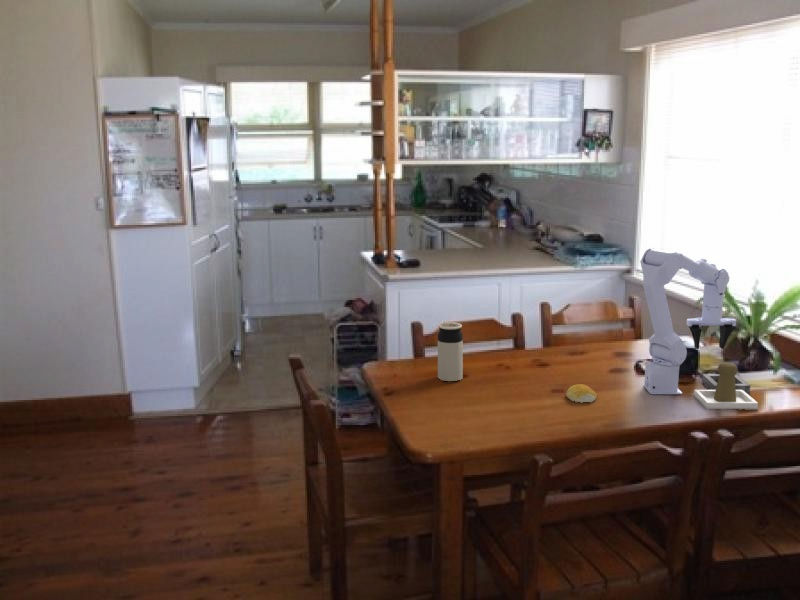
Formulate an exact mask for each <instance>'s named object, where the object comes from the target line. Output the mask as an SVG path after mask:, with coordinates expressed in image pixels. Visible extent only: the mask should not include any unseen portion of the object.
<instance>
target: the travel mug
mask: <svg viewBox="0 0 800 600" xmlns="http://www.w3.org/2000/svg"><path fill="white" fill-rule="evenodd" d="M462 327H463V324H462V323H459V322H456V321H455V322H454V321H445V322H441V323H439V324H438V328H439V332H438V334H437V379H438V378H439V379H441V380H445V381H457V380H460V381H462V380H463V377H464V376H463V372H464V371H463V370H464V369H463V368H464V365H463V361H464V358H463V357H464V355H463V351H464V350H463V349H464V344H463V343H464V342H463V341H464V334H463V332H462V330H461V329H462ZM439 379H438V380H439ZM461 379H462V380H461ZM441 380H440V381H441Z"/></svg>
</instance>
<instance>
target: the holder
mask: <svg viewBox="0 0 800 600" xmlns="http://www.w3.org/2000/svg"><path fill="white" fill-rule="evenodd" d="M701 375H702V377H701V382H702V383H703V384H704V385H705V386H706V388H708V390H716V387H717V383H718V379H719V374H718V373H715V374H714V373H706V374H705V373H702V374H701ZM735 387H736V390H743V391H745V392H746V393H747V394H751V384H750V383H748V382H747V381H746V380H744V379H743V378H742V377H741V376H739V375H738V374H736V375H735Z"/></svg>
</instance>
